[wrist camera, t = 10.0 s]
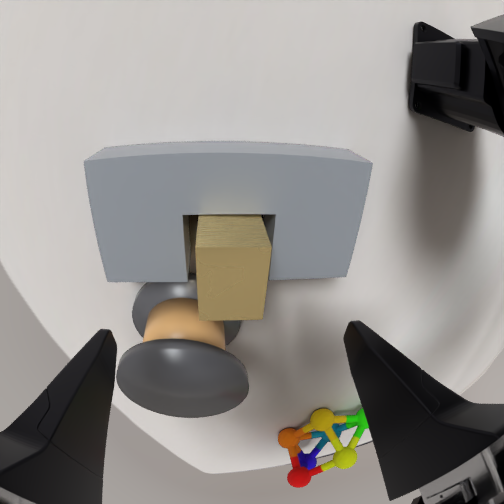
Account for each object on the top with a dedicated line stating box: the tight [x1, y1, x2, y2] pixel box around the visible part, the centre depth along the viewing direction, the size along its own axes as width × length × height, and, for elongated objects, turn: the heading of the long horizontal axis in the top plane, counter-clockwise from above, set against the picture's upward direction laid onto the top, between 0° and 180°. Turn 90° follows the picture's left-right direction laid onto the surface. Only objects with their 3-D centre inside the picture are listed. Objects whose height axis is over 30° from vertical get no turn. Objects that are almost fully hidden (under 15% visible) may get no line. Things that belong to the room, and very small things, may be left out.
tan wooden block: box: [195, 214, 272, 321], centre depth 15 cm, size 3×4×6 cm
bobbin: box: [116, 273, 249, 418], centre depth 18 cm, size 8×8×7 cm
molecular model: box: [278, 408, 369, 487], centre depth 32 cm, size 11×10×15 cm
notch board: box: [84, 141, 373, 282], centre depth 15 cm, size 14×7×3 cm, turn 87°
